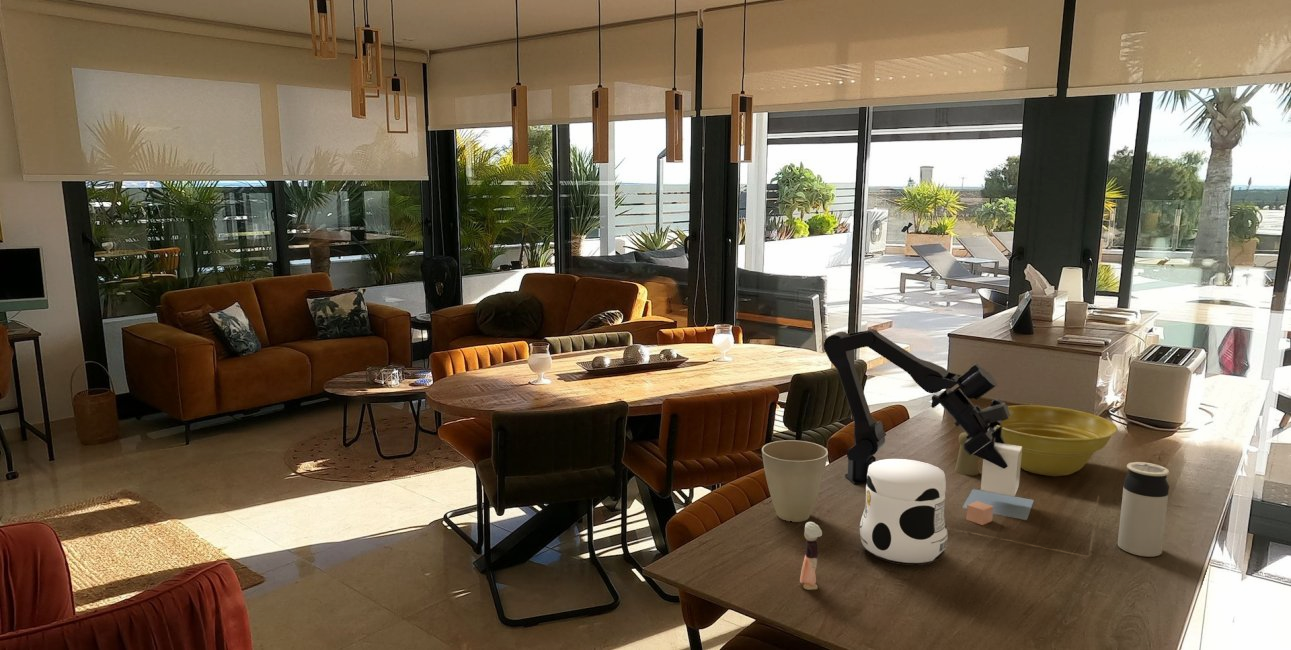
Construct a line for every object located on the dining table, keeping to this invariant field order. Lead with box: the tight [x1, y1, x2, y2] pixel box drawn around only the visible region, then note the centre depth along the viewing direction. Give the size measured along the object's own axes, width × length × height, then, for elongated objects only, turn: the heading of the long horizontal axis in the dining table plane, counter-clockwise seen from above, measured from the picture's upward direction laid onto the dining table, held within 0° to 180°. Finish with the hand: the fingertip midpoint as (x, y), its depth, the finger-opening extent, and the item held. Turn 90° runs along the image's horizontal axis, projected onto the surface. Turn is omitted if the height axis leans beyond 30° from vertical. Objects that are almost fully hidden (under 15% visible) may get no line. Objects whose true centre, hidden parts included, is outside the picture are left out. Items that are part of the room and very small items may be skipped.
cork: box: [954, 431, 980, 476], centre depth 217 cm, size 6×6×11 cm
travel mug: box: [1117, 461, 1170, 558], centre depth 170 cm, size 8×8×18 cm
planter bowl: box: [996, 404, 1119, 477], centre depth 220 cm, size 32×32×13 cm
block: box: [965, 501, 994, 526], centre depth 186 cm, size 4×4×4 cm
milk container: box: [859, 458, 948, 566], centre depth 169 cm, size 17×17×18 cm
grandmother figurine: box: [799, 521, 823, 591], centre depth 155 cm, size 8×4×13 cm, turn 5°
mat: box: [962, 488, 1035, 521], centre depth 195 cm, size 14×14×1 cm
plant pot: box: [761, 439, 829, 523], centre depth 188 cm, size 15×15×16 cm
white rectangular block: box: [980, 442, 1022, 497], centre depth 194 cm, size 7×7×10 cm
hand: (1008, 462), depth 193 cm, fingers closed on white rectangular block, 7 cm apart
